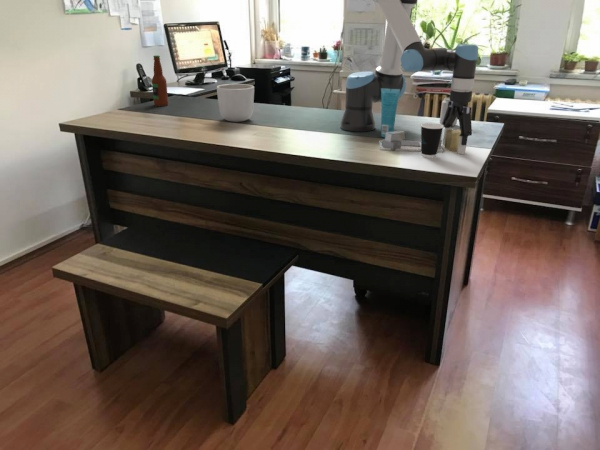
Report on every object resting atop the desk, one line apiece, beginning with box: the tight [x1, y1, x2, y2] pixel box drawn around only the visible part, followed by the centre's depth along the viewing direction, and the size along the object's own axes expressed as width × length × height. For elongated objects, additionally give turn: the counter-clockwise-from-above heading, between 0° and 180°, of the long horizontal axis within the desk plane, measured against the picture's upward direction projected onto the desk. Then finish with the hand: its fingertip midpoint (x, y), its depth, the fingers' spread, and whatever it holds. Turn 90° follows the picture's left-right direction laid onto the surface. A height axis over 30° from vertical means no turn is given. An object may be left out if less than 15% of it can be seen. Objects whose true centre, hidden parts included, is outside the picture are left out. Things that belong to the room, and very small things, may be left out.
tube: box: [380, 88, 400, 138], centre depth 200 cm, size 7×5×19 cm, turn 83°
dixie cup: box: [420, 122, 445, 159], centre depth 175 cm, size 8×8×11 cm
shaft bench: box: [378, 129, 444, 153], centre depth 188 cm, size 23×14×6 cm, turn 84°
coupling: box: [443, 129, 461, 152], centre depth 185 cm, size 5×5×7 cm
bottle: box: [151, 55, 169, 107], centre depth 258 cm, size 7×7×25 cm
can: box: [439, 97, 458, 127], centre depth 224 cm, size 8×8×12 cm
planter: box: [216, 83, 255, 123], centre depth 228 cm, size 17×17×15 cm
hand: (453, 149), depth 186 cm, fingers open, 12 cm apart
